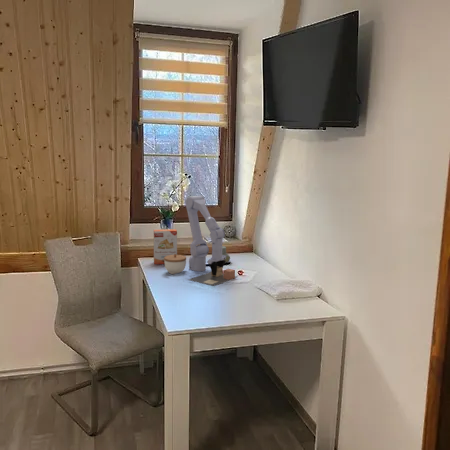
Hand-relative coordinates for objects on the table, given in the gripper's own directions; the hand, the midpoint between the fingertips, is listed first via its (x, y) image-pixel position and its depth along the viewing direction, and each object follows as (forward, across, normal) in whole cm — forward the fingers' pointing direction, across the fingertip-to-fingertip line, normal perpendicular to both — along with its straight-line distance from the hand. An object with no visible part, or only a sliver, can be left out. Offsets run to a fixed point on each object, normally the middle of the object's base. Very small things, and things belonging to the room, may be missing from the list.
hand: (216, 273), depth 269 cm
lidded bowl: (+2, -8, +24) cm, 25 cm away
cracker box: (+2, +4, +43) cm, 43 cm away
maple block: (+1, 0, 0) cm, 1 cm away
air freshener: (+2, +27, +17) cm, 32 cm away
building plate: (+2, -6, -2) cm, 7 cm away
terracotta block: (+1, 0, -8) cm, 9 cm away
